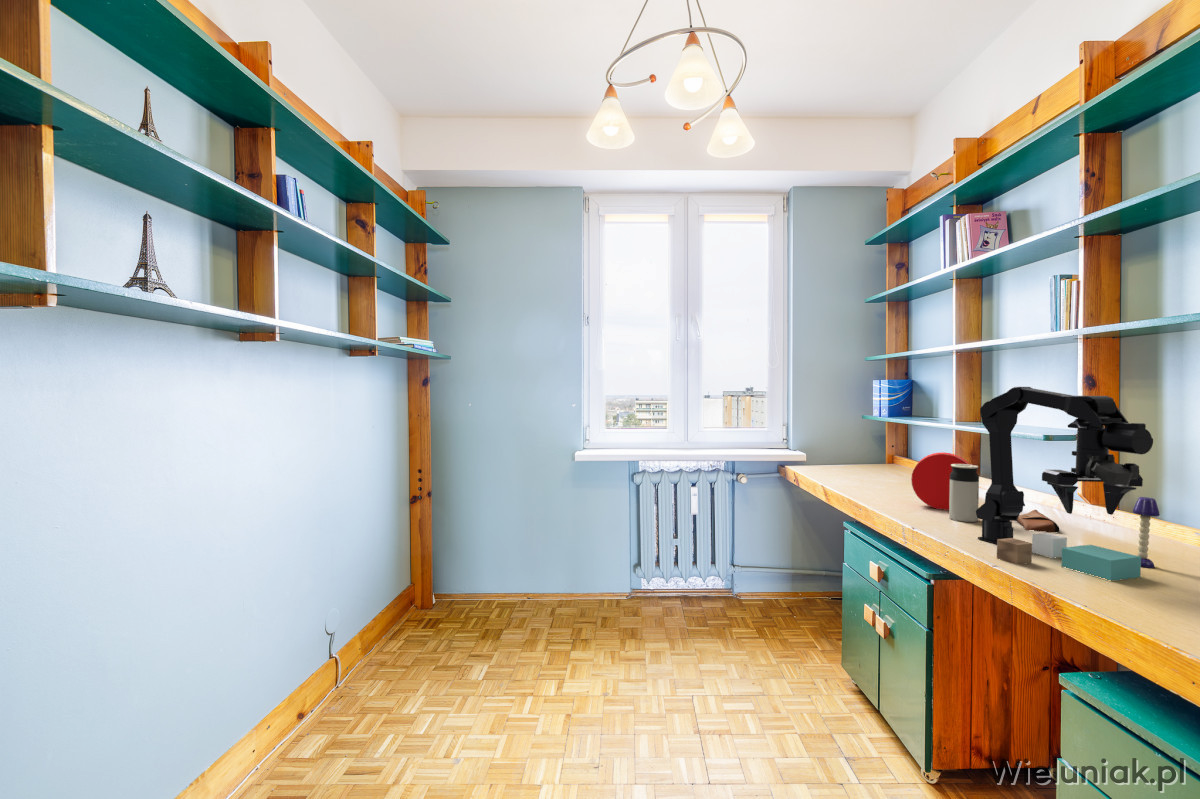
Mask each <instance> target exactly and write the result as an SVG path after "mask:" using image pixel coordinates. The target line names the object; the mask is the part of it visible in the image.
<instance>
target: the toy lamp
mask: <svg viewBox="0 0 1200 799" xmlns="http://www.w3.org/2000/svg"><path fill="white" fill-rule="evenodd" d="M1132 513H1134V514H1137V515H1140V516H1139V518H1140V521H1139V525H1140V527H1139V533H1138V538H1139V539H1138V546H1137V550H1138V552H1137V556H1140V557H1141V568H1148V569H1149V568H1150V569H1152V568H1153V569H1154V568H1155V564H1154V562H1153V561H1152V560H1151V559H1150V558H1148V554H1149V553H1148V551H1149V545H1150V541H1149V539H1150V534H1149V533H1150V532H1151V529H1150V526H1151V522H1150V521H1151V517H1159V516H1160V510H1159V506H1158V504H1157V500H1156V499H1155V498H1153V497H1146V496H1139V497H1138V498H1137V500H1136V502H1135V504H1134V507H1133V509H1132Z"/></svg>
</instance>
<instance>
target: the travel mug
mask: <svg viewBox="0 0 1200 799" xmlns="http://www.w3.org/2000/svg"><path fill="white" fill-rule="evenodd" d="M951 466H952V472H951V473H950V498H949V510H948V517H949V518H950V519H951V520H953V521H956V520H957V521H956V522H961V521H963V522H962V523H977V522H978V521H979V518H977V515H976V510H977V509H978V508H979V502H980V501H979V498H980V497H979V496H980V492H979V491H980V488H979V487H980V476H979V474H978V468H979V465H974V464H970V465H968V464H951Z"/></svg>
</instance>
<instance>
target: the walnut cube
mask: <svg viewBox="0 0 1200 799" xmlns="http://www.w3.org/2000/svg"><path fill="white" fill-rule="evenodd" d="M1032 556H1033V553H1032V542H1029V541H1025V540H1021V539H1017V538H1014V537H1013V538H1006V539H997V544H996V559H997V560H999V559H1000V561H1003V562H1007V563H1009V564H1013V565H1016V566H1018V565H1019V566H1020V565H1026V564H1025V563H1027V564H1032V563H1033V557H1032ZM1031 562H1032V563H1031Z"/></svg>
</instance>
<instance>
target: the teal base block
mask: <svg viewBox="0 0 1200 799" xmlns="http://www.w3.org/2000/svg"><path fill="white" fill-rule="evenodd" d="M1062 566H1063V567H1066V568H1070V569H1073V570H1077V571H1080V572H1084V573H1087V574H1091V575H1094V576H1098V577H1101V578H1105V579H1107V580H1106V581H1108V580H1116V581H1121V580H1120V579H1124V580H1129V578H1131V579H1136V577H1138V578H1141V572H1142V571H1141V568H1142V567H1141V557H1140V556H1138V555H1135V554H1132V553H1126V552H1122V551H1118V550H1114V549H1110V548H1106V547H1104V546H1103V547H1101V546H1098V545H1094V544H1085V545H1084V544H1083V545H1074V546H1067V547H1065V548H1062V557H1061V567H1062ZM1063 567H1062V568H1063ZM1066 568H1065V569H1066ZM1073 570H1072V571H1073ZM1080 572H1079V573H1080ZM1087 574H1086V575H1087ZM1094 576H1093V577H1094ZM1101 578H1100V579H1101Z"/></svg>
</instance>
